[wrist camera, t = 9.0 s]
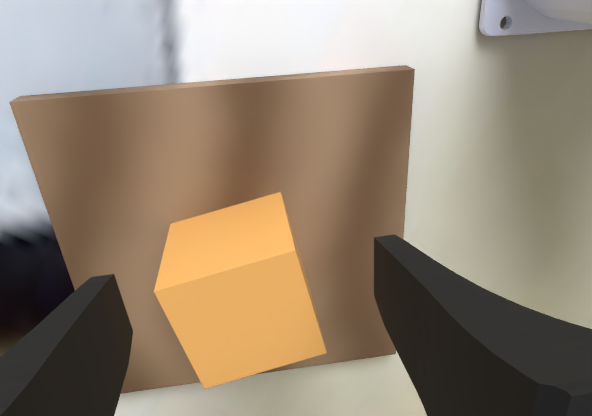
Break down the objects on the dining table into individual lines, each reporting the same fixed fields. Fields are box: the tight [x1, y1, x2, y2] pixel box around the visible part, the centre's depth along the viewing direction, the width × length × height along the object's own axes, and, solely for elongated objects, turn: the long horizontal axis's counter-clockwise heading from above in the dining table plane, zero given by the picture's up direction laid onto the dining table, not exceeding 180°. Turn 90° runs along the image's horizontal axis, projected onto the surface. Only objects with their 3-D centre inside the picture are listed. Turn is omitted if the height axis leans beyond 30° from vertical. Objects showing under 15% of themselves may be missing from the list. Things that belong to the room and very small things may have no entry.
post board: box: [9, 66, 415, 394], centre depth 20 cm, size 16×16×5 cm
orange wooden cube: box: [154, 192, 327, 389], centre depth 19 cm, size 5×5×5 cm
